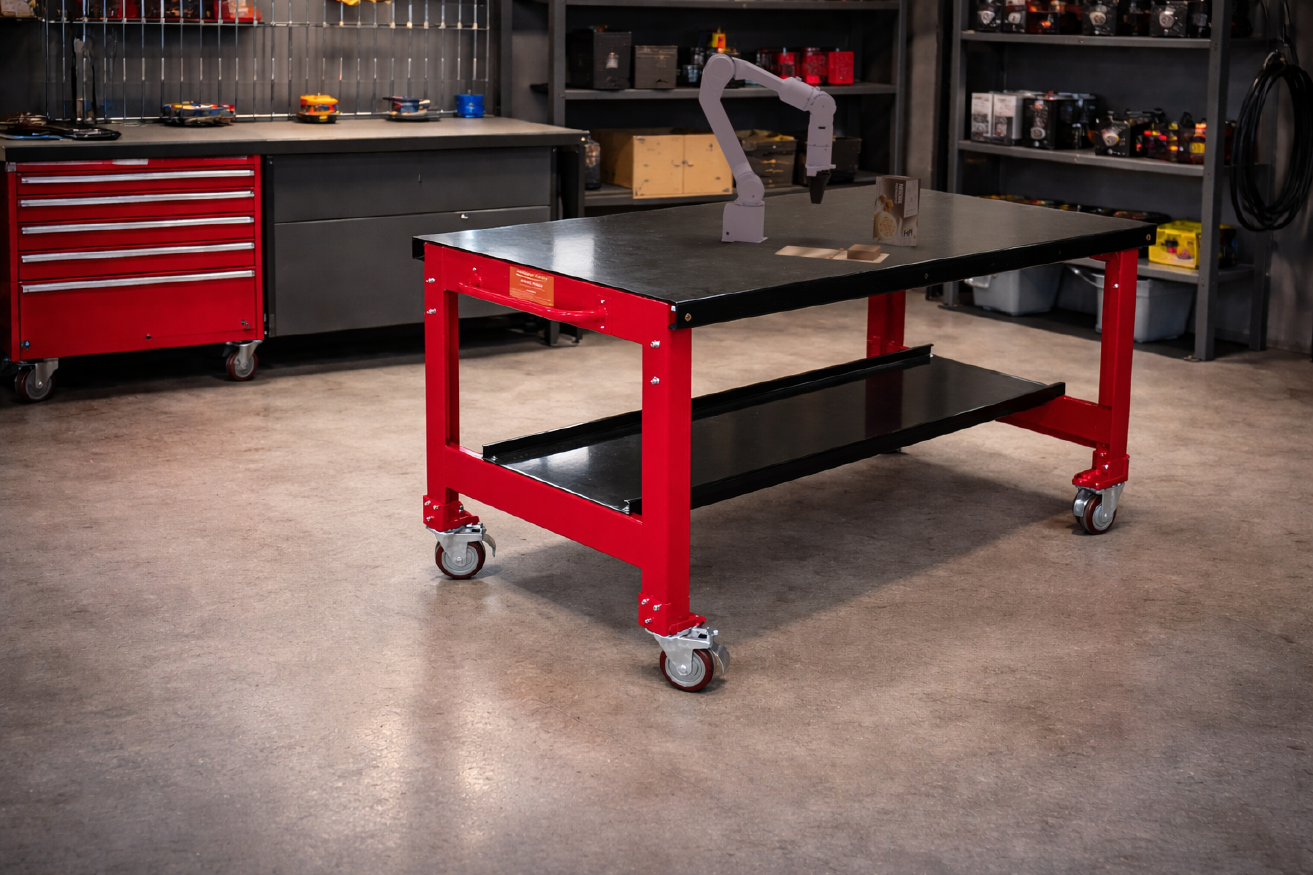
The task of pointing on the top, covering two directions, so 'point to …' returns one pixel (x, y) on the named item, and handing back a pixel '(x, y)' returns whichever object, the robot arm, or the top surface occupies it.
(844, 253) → the pale wooden flat slab
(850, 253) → the stub tile
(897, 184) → the coffee box
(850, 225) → the top surface
